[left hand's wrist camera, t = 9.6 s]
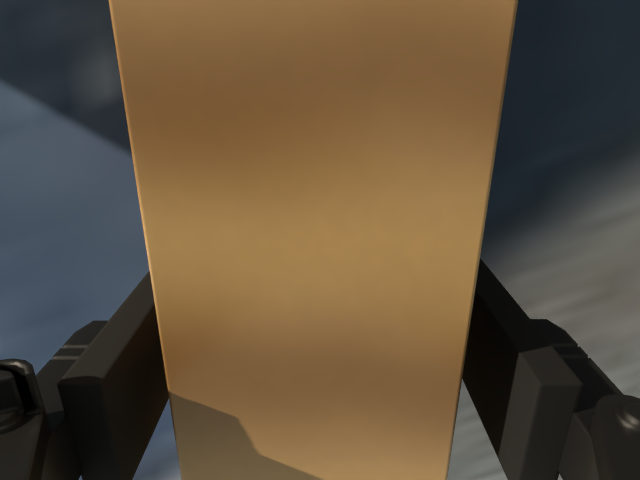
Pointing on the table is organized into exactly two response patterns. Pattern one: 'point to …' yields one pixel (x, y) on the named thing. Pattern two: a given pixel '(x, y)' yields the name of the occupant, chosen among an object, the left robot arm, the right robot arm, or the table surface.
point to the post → (313, 222)
